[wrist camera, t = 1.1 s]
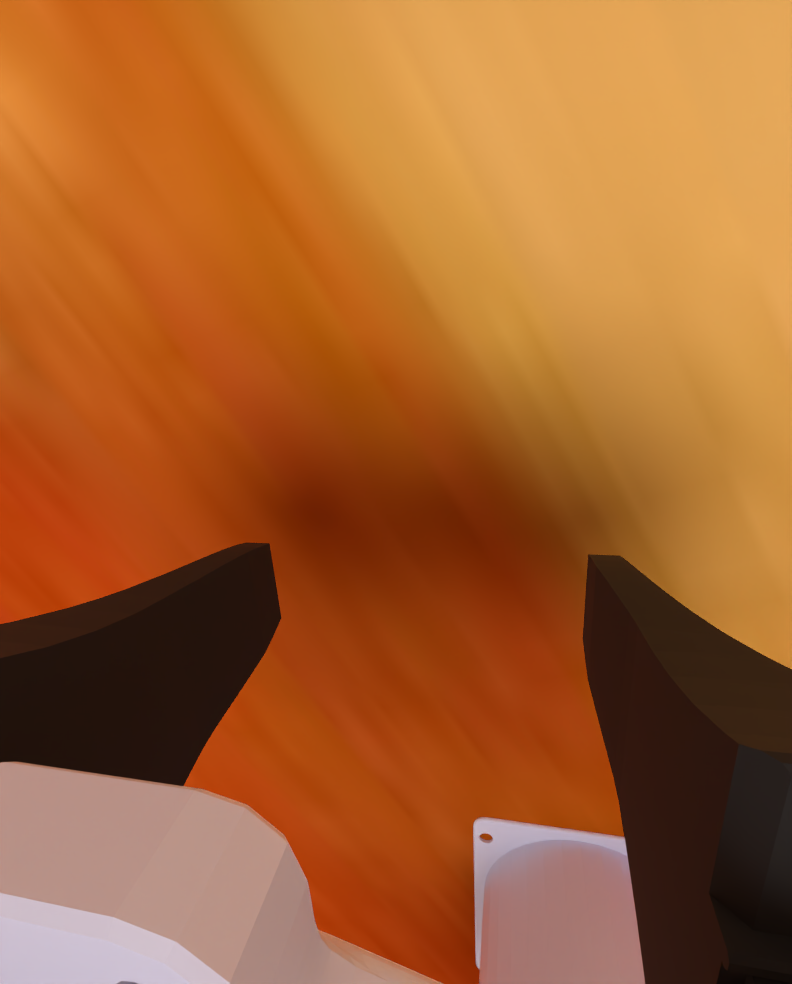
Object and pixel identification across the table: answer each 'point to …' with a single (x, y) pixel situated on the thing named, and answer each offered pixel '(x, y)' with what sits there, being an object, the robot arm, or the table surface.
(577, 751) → the table surface
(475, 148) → the table surface
